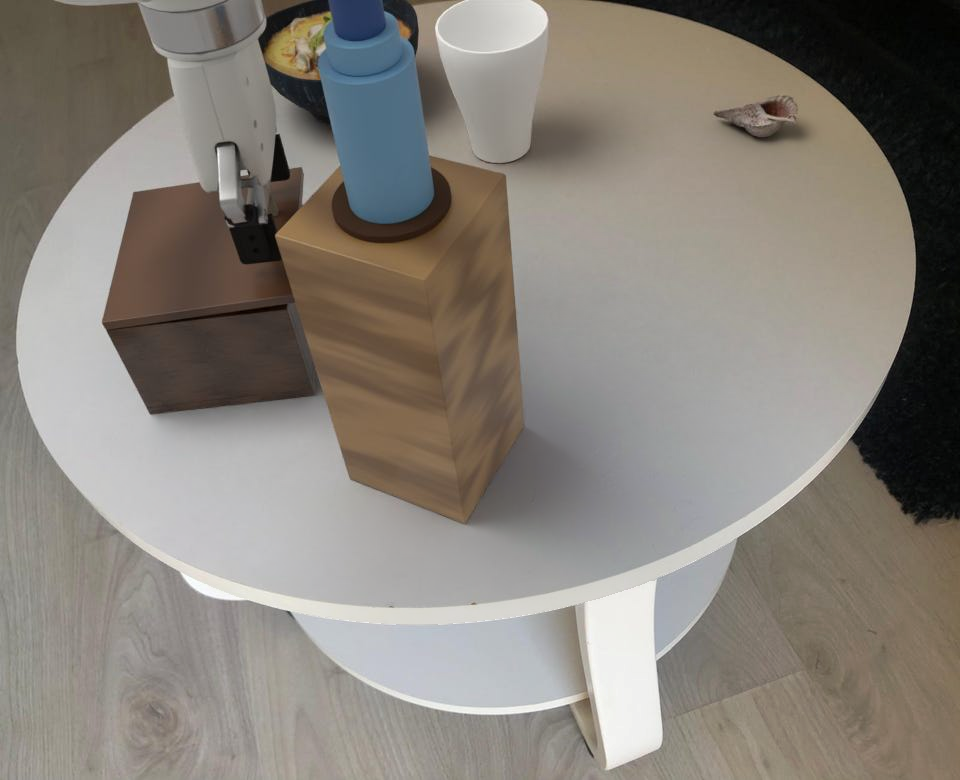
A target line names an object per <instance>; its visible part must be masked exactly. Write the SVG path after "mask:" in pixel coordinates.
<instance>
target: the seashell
mask: <svg viewBox="0 0 960 780" xmlns="http://www.w3.org/2000/svg"><path fill="white" fill-rule="evenodd" d="M798 107H799V106H798V104H797V102H795V101H794V98H793V96H790V95H789V94H782V95H780V94H776V95H774V96H770V97H768V98H765V99H762V100H759V101H757V102H754V103H749V104H745V105H744V106H743V107H739V106H738V107H735V108H731V109H730V108H729V109H724V110H715V111H713V116H715V117H716V118H720V119H724V120H727V121H728V122H730V123H731V124H735V126H737V127H739V128H744V129H745V130H746V132H747V133H749V134H750V135H752V136H754V137H757V138H768V137H771V136H772V135H774V134H775V133H777V132H778V131H779V130H780V129H781V128H782V126H783V125H784V124H785V123H788V124H789V123H790V124H792V125H793V124H794V125H796V121H797V116H796V115H797V114H798V111H799V108H798Z"/></svg>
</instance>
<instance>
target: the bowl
mask: <svg viewBox="0 0 960 780" xmlns="http://www.w3.org/2000/svg"><path fill="white" fill-rule="evenodd" d="M382 2H383V8H384V11H385V12H387V13H389V14H391V15H393V16H394V17H395V18H396V20H397V22H398V26H399V32H400V36H401V37H403V38H405V39H406V40H408V41H409V42H410V44H411V45H412V46H413V49H414V54H415V58H416V57H417V52H418V47H419V36H420V35H419V34H420V29H419V20H418V14H417V11H416V9H415V8H414V6H413V5H412V4H411V3H410V2H409V1H408V0H382ZM331 20H332V16H331V11H330V6H329V1H328V0H308V1H305V2H304V1H303V2H300V3H297V4H295V5H291V6H289V7H286V8H283V9H281V10H278V11H275V12H273V13H272V14H270V15H269V16H266V27H265V30H264V32H263V33H262V34H261V35H260V37H259V38H258V42H259V45H260V48H261V51H262V55H263V58H264V62H265V65H266V69H267V72H268V76H269V80H270V84H271V87H272V88H274V90H275V91H276V92H277V93H279V95H280V96H282V97H283V98H284V99H286V100H287V101H289V102H290V103H292V104H293V105H295V106H297V107H299V108H301V109H302V110H305V111H307V112H309V113H311V115H313V117H314V118H315V119H316V120H318V121H319V122H321V123H324V124H327V125H331V122H330V117H329V113H328V108H327V104H326V100H325V95H324V91H323V86H322V82H321V77H320V73H319V69H318V60H319V57H320V55H321V53H322V52H323V51H324V50H325V49H326V46H325V41H324V36H323V33H324V29H325V27H326V25H327V24H328V23H329V22H330V21H331Z"/></svg>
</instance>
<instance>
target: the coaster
mask: <svg viewBox="0 0 960 780" xmlns="http://www.w3.org/2000/svg"><path fill="white" fill-rule="evenodd" d="M431 173H432V180H433V187H434V197H433V200H432V202H431V203H430V205H429V206H428V207H427V208H426V210H424V211H423V212H422V213H420V214H419V215H417V216H416V217H414V218H411V219H409V220H406V221H403V222H399V223H393V224H377V223H372V222H368V221H365V220H363V219H361V218H359V217H358V216H357V215H356V214H354V212H353V211H352V210H351V208H350V205H349V201H348V197H347V192H346V188H345V184H344V181H343V182H342V183H341V184H340V186H339V187H338V188H337V190H336V191H335V193H334V196H333V198H332V212H333V216H334V219H335V221H336V223H337V225H338V226H339V227H340V228H341V229H342V230H343V231H344V232H345V233H347V234H348V235H350V236H352V237H354V238H357V239H360V240H363V241H368V242H375V243H392V242H399V241H404V240H408V239H411V238H414V237H417V236H419V235H422V234H424V233H426V232H427V231H429V230H431V229H432V228H434V227H435V226H436V225H437V224H439V223H440V222H441V221H442V219H443V218H444V217H445V216H446V214H447V213H448V211H449V208H450V205H451V199H452V197H451V189H450V186H449V183H448V181H447V180H446V178H445V177H444V176H443V175H442V174H441V173H440V172H439V171H437V170H436V169H434V168H432V167H431Z"/></svg>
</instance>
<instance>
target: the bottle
mask: <svg viewBox="0 0 960 780" xmlns="http://www.w3.org/2000/svg"><path fill="white" fill-rule="evenodd" d="M328 1H329V6H330V11H331V16H332V20H331V21H330V22H329V23H328V24H327V25H326V27H325V29H324V33H323V36H324V41H325V46H326V49H325V50H324V51H323V52H322V53H321V55H320V57H319V60H318V69H319V73H320V77H321V82H322V86H323V91H324V95H325V100H326V104H327V108H328V113H329V117H330V122H331V124H330V127H331V130H332V134H333V140H334V143H335V147H336V148H335V149H336V152H337V156H338V161H339V166H341V170H342V175H343V179H344V184H345V188H346V192H347V197H348V201H349V205H350V208H351V210H352V211H353V212H354V214H356V215H357V216H358V217H359V218H361V219H363V220H365V221H368V222H372V223H377V224H393V223H399V222H403V221H406V220H409V219H411V218H414V217H416V216H417V215H419V214H420V213H422V212H423V211H424V210H426V208H427V207H428V206H429V205H430V203H431V202H432V200H433V197H434V187H433V180H432V173H431V166H430V159H429V155H430V153H429V146H428V139H427V131H426V124H425V118H424V111H423V103H422V95H421V89H420V83H419V75H418V67H417V61H416V57H415V54H414V49H413V46H412V45H411V44H410V42H409V41H408V40H406V39H405V38H403V37H401V36H400V32H399V26H398V22H397V20H396V18H395V17H394V16H393V15H391V14H389V13H387V12H385V11H384V8H383V2H382V0H328Z"/></svg>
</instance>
